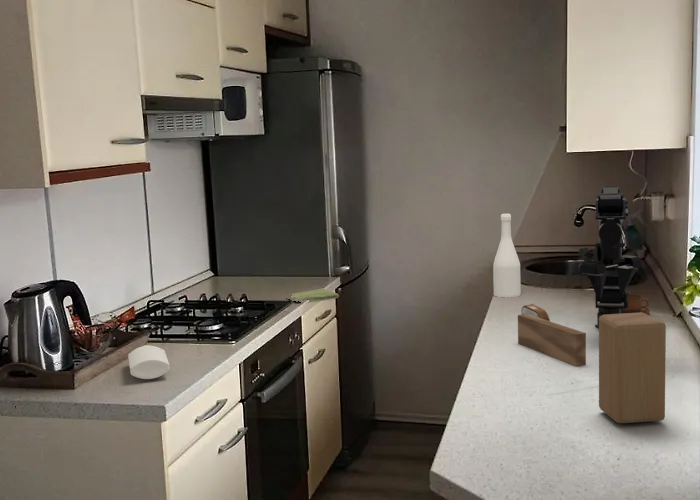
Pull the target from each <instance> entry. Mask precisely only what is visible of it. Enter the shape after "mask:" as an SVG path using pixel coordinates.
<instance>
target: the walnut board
mask: <svg viewBox="0 0 700 500" xmlns="http://www.w3.org/2000/svg"><path fill="white" fill-rule="evenodd" d="M586 335H587V333H586V332H584V331H581V330H577V329H575V328H571V327H568V326H566V325H562V324H560V323H558V322H557V323H556V322H553V321H547V320H544V319H541V318H538V317H535V316H532V315H529V314H522V313H521V314H518V315H517V344H519V345H521V346H523V347H527V348H529V349H532V350H534V351H537V352H538V353H541V354H544V355H546V356H549V357H551V358H554V359H557V360H559V361H562V362H564V363H567V364H569V365H571V366H574V367H578V366H579V367H580V366H585V365H587V358H586V357H587V354H586V353H587V345H586V344H587V336H586Z"/></svg>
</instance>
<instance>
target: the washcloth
mask: <svg viewBox="0 0 700 500" xmlns="http://www.w3.org/2000/svg"><path fill="white" fill-rule="evenodd" d="M291 294H292V296H291V298H293V297H295V298H296V299H295V300H305V299H307V300H309V302H308V303H314V302H320V301H326V300H327V301H328V300H334V299H338V298H339V297H340V295H339V294H338V293H336V292H333V291H331V290H330V289H326V288H323V287H321V288H318V289H312V290H306V291H300V292H295V293H291Z"/></svg>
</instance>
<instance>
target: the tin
mask: <svg viewBox="0 0 700 500" xmlns="http://www.w3.org/2000/svg"><path fill="white" fill-rule="evenodd" d="M520 313H521V315H522V314H529V315H532V316H535V317H538V318H541V319H544V320H547V321H550V317H549V314H548V312H547V311H546V309H544V308H542V307H540V306H538V305H536V304H534V303H531V304H525V305H523V306H522V307H521V312H520ZM550 322H551V321H550Z"/></svg>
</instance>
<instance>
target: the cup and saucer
mask: <svg viewBox="0 0 700 500" xmlns="http://www.w3.org/2000/svg"><path fill="white" fill-rule="evenodd" d="M642 301H644V302H646V304H645V305H643V304H642ZM621 303H623V304H624V302H621ZM649 305H650V302H649V300H648V298H646V297H642V295H641V294H640V295H639V294H632V293H628V308H626V309H623V313H640V312H642V313H645V314H647V315H649V313H650V312H651V311H650V309H649V308H648V306H649Z"/></svg>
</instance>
